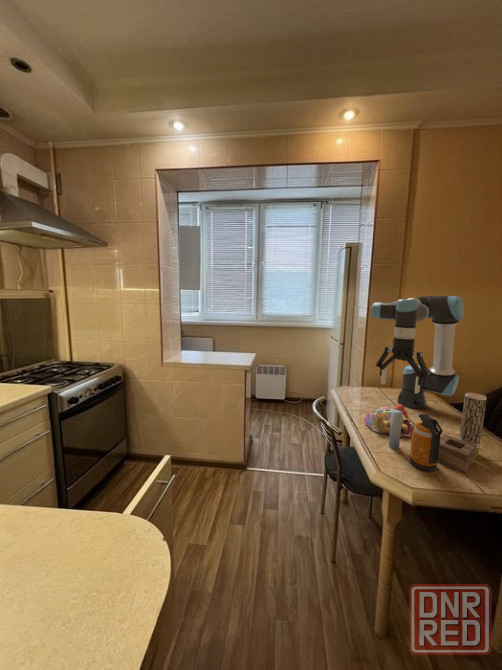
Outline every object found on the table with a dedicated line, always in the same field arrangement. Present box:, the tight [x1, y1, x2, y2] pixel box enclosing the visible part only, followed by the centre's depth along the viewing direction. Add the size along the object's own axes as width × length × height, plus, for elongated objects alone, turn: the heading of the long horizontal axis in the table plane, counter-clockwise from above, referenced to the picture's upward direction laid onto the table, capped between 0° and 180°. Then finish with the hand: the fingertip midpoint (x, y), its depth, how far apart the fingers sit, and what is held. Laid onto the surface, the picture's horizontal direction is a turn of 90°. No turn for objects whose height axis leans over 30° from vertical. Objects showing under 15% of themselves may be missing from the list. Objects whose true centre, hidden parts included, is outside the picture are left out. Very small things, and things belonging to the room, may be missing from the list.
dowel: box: [388, 410, 403, 450], centre depth 119 cm, size 4×4×16 cm
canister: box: [409, 413, 444, 472], centre depth 106 cm, size 9×11×20 cm
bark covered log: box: [458, 392, 487, 458], centre depth 115 cm, size 7×7×25 cm
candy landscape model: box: [363, 403, 415, 437], centre depth 140 cm, size 25×24×9 cm
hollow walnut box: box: [438, 433, 477, 473], centre depth 111 cm, size 11×11×7 cm
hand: (399, 388), depth 116 cm, fingers open, 13 cm apart
